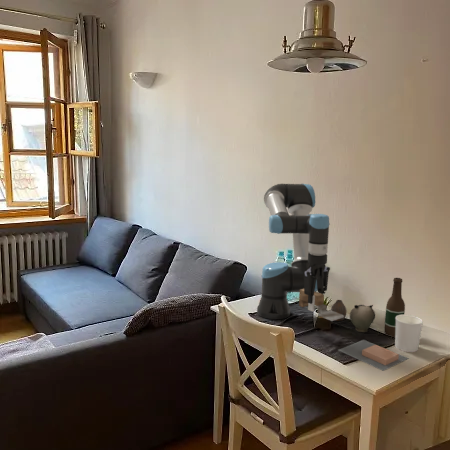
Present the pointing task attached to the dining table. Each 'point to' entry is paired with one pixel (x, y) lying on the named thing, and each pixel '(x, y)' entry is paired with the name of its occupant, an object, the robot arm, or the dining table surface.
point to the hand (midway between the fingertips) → (314, 309)
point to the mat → (356, 352)
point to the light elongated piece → (319, 306)
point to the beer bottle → (394, 308)
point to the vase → (339, 309)
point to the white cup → (407, 332)
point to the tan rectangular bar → (380, 354)
